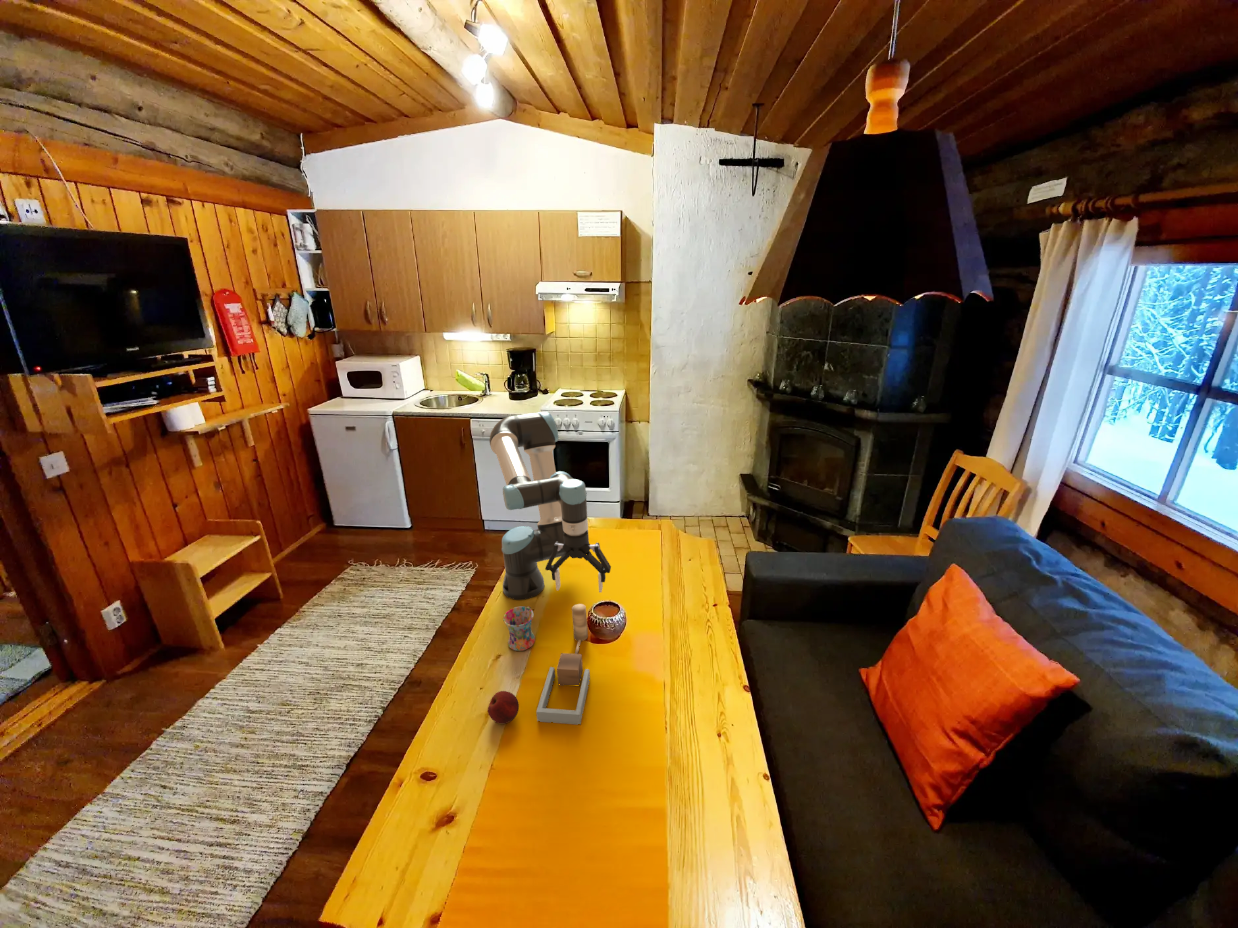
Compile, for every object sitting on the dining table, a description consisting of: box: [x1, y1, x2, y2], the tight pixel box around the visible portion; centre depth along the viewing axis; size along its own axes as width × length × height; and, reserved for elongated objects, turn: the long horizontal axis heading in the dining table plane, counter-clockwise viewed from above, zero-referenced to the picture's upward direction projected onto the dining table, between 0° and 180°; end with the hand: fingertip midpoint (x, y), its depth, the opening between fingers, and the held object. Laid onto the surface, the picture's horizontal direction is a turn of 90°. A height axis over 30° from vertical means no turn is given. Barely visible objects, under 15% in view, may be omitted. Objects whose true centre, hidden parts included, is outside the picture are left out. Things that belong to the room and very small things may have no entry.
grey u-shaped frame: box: [535, 666, 591, 725], centre depth 132 cm, size 15×11×4 cm
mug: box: [502, 605, 536, 652], centre depth 153 cm, size 12×9×11 cm
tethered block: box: [556, 603, 589, 686], centre depth 145 cm, size 22×6×11 cm, turn 174°
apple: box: [487, 690, 520, 724], centre depth 127 cm, size 7×8×8 cm
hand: (579, 588), depth 153 cm, fingers open, 13 cm apart
